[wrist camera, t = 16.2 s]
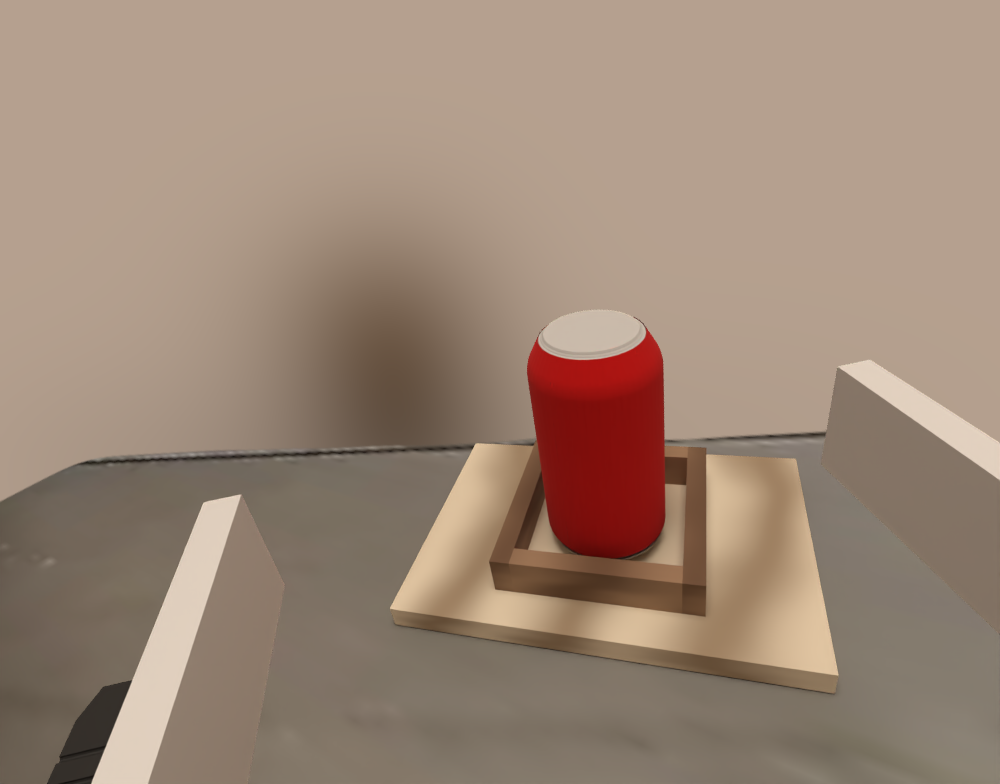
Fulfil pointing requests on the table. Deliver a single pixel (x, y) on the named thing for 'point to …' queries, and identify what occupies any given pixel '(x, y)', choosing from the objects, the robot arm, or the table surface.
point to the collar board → (634, 572)
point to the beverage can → (600, 432)
